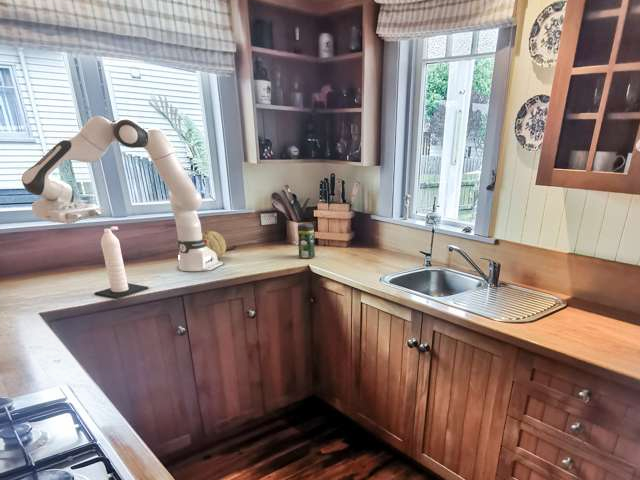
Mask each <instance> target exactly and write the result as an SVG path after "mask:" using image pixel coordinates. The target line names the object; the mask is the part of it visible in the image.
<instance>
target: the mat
mask: <svg viewBox="0 0 640 480" xmlns="http://www.w3.org/2000/svg"><path fill="white" fill-rule="evenodd" d="M127 284H128V288H129V289H128V290H127V291H124V292H112V291H111V288H110V287H109V288H106V289H103V290H99V291H95V292H94V294H95V295H96V296H101V297H105V298H112V299H120V298H124V297H126V296H130V295H133V294H136V293H138V292H142V291H145V290H148V289H149V286H146V285H140V284H135V283H130V282H129V283H128V282H127Z"/></svg>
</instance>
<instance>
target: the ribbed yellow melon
mask: <svg viewBox="0 0 640 480" xmlns="http://www.w3.org/2000/svg"><path fill="white" fill-rule="evenodd" d="M202 239H208V240H209V243H205V244H206V246H207V247H208V248H210V249H211V250H212V251H214V252H215V253H216V255H217V259H220V258H221V257H222V256H224V254H225V253H226V251H225V250H226V249H227V242H226V240H225V238H224V237H223V236H222V235H221V234H220V233H219V232H217V231H213V230H208V231H207V230H206V231H204V232H202Z"/></svg>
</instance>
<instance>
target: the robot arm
mask: <svg viewBox="0 0 640 480" xmlns="http://www.w3.org/2000/svg"><path fill="white" fill-rule="evenodd" d="M114 143H119V144H120V145H122V146H124V147H126V148H130V149H135V148H139V149H141V148H143V149H144V150H145V151H146V153H147V156H148V157H149V159H150V160H151V163H152V164H153V166H154V168H155V170H156V172H157V175H159V177H160V179H161V180H162V182H163V183H164V184H165V186H166V188H167V189H168V193H167V194H168V199H169V203H170V207H171V210H172V214H173V215H172V216H173V217H174V221H175V226H176V234H177V247H178V249H179V250H178V261H179V262H178V270H180V271H184V272H203V271H204V272H205V271H206V272H207V271H211V270H214V269H216V268H218V267H220V266H222V265H224V262H223V261H221V260H218V259H219V258H217V255H216V253H215V252H214V251H212V250H211V249H210V248H208V247H207V246H206V244H205V243H209V240H208V239H202V234H203V232H202V225H201V220H200V218H199V215H198V212H197V210H199V209H200V208H201V207H202V204H203V198H202V195H201V193H200V192H199V191H198V189H197V187H196V186H195V184H194V182H193V181H192V179H191V178H190V176H189V175H188V173H187V171H186V170H185V168H184V166H183V164H182V161H181V160H180V158H179V156H178V154H177V152H176V150H175V148H174V146H173V145H172V143H171V141H170V140H169V138H168V137H167V135H166V134H165V132H164V131H163V130H162V129H160V128H157V127H151V128H147V129H146V128H143V127H142V125H140V123H139V122H138V121H136V120H135V119H133V118H131V117H121V118H120V119H117V120H116V119H115V120H113V121H110V120H109V119H108V118H105V117H103V116H101V115H100V116H99V115H95V116H92V117H91V118H90V119H89V120H88V121H87V122H86V123H85V124H84V125H82V127H81V128H80V129H79V131H78V133H77V134H76V135H75V136H73V137H72V138H69V139H63V140H61V141H59V142H58V143H56V144H55V145H54V146H53V147H52V148H51V149H50V150H48V151H47V152H46V154H45V155H44V156H43V157H42V158H40V159H39V160H38V161H37V163H35V164H34V165H33V166H31V167H30V168H28V169H27V170H26V171H24V172H23V174H22V176H21V182H22V186H23V187H24V189H25V190H26V192H28V193H29V194H33V195H36V196H39V197H41V198H40V199H38V200H36V201H34V202H33V203H32V205H31V209H32V212H33V214H34V215H35V216H36V217H37V218H38V219H40V220H41V221H45V222H49V223H58V224H66V225H72V224H75V223H76V222H79V221H82V220H87V219H89V218H90V219H91V218H97V217H102V216H103V212H102V211H103V210H102V209H101V207H100V206H97V205H93V204H86V203H85V202H74V199H75V193H74V189H73V187H72V186H71V185H70V184H68V183H67V182H65V181H64V180H61V179H58V178H57V177H54V176H52V175H51V174H52V173H53V172H54V171H55V170H56V169H57V168H58V167H59V166H60V165H61V164H62V163H63V162H66V161H67V162H68V161H77V162H82V163H89V164H90V163H96V162H99V160H101V159H102V158H103V156H104V155H105V154H106V152H107V151H108V149H109V148H110V147H111V146H112V145H113V144H114ZM234 248H236V245H235V246H233V245H232V247H229V248H226V250H225V252H226V251H230V250H233V249H234Z"/></svg>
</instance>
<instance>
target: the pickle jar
mask: <svg viewBox="0 0 640 480" xmlns="http://www.w3.org/2000/svg"><path fill="white" fill-rule="evenodd" d="M297 234H298V258H299V259H303V260H304V259H305V260H307V259H312V258H314V257H315V256H316V253H315V251H316V250H315V235H314V234H315V228H314V224H313V223H312V222H304V223H301V224H299V225H297Z"/></svg>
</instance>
